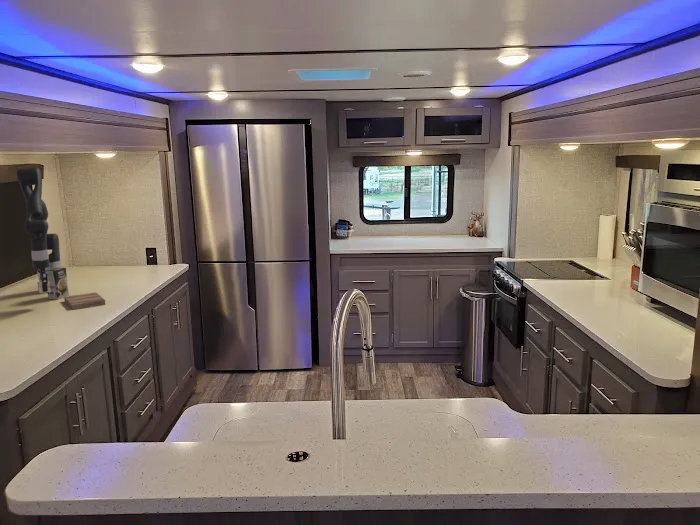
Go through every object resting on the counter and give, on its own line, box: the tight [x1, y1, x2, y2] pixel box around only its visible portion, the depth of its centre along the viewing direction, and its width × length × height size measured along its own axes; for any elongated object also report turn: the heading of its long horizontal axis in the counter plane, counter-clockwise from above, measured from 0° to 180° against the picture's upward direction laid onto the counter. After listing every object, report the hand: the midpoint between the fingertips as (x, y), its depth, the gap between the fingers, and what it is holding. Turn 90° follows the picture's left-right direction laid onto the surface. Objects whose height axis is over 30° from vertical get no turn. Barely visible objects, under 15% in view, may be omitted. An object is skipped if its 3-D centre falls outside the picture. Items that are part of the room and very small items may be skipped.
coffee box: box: [46, 267, 70, 300], centre depth 304 cm, size 9×6×16 cm
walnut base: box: [63, 291, 106, 311], centre depth 294 cm, size 20×16×2 cm
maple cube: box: [36, 281, 51, 294], centre depth 285 cm, size 5×5×5 cm
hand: (44, 290), depth 285 cm, fingers closed on maple cube, 5 cm apart
